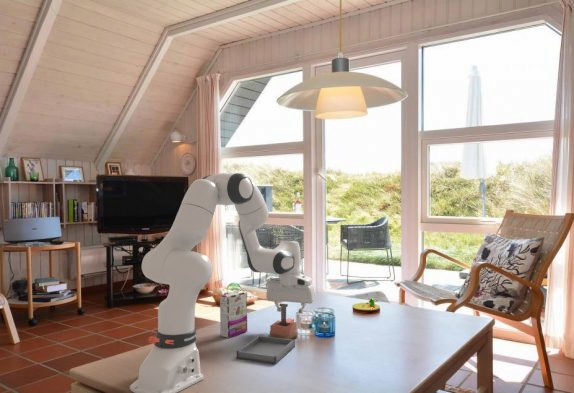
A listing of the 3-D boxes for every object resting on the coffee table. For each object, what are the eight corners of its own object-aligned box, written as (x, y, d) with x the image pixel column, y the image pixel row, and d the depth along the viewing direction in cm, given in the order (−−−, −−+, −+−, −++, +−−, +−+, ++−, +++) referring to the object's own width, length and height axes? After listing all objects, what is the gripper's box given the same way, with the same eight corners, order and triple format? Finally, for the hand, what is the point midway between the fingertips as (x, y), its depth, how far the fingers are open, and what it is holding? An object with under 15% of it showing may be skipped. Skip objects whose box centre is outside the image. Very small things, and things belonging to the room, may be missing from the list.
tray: (275, 364, 151) (275, 356, 151) (236, 358, 157) (236, 351, 157) (295, 346, 169) (295, 340, 169) (258, 342, 174) (258, 335, 174)
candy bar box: (238, 329, 190) (238, 290, 190) (247, 331, 187) (247, 291, 187) (219, 336, 181) (219, 294, 181) (228, 338, 178) (228, 296, 178)
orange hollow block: (289, 335, 176) (289, 327, 176) (270, 333, 178) (270, 325, 178) (300, 326, 187) (300, 319, 187) (282, 324, 190) (282, 317, 190)
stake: (291, 342, 174) (291, 308, 174) (265, 339, 178) (265, 305, 178) (301, 334, 184) (301, 301, 184) (276, 331, 188) (276, 299, 188)
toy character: (387, 312, 220) (387, 298, 220) (372, 316, 212) (372, 302, 212) (369, 308, 228) (369, 294, 228) (353, 312, 220) (353, 298, 220)
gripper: (263, 278, 188) (263, 312, 188) (311, 281, 181) (311, 316, 181) (269, 275, 194) (269, 308, 194) (315, 278, 187) (315, 312, 187)
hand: (290, 312), depth 188 cm, fingers open, 8 cm apart
